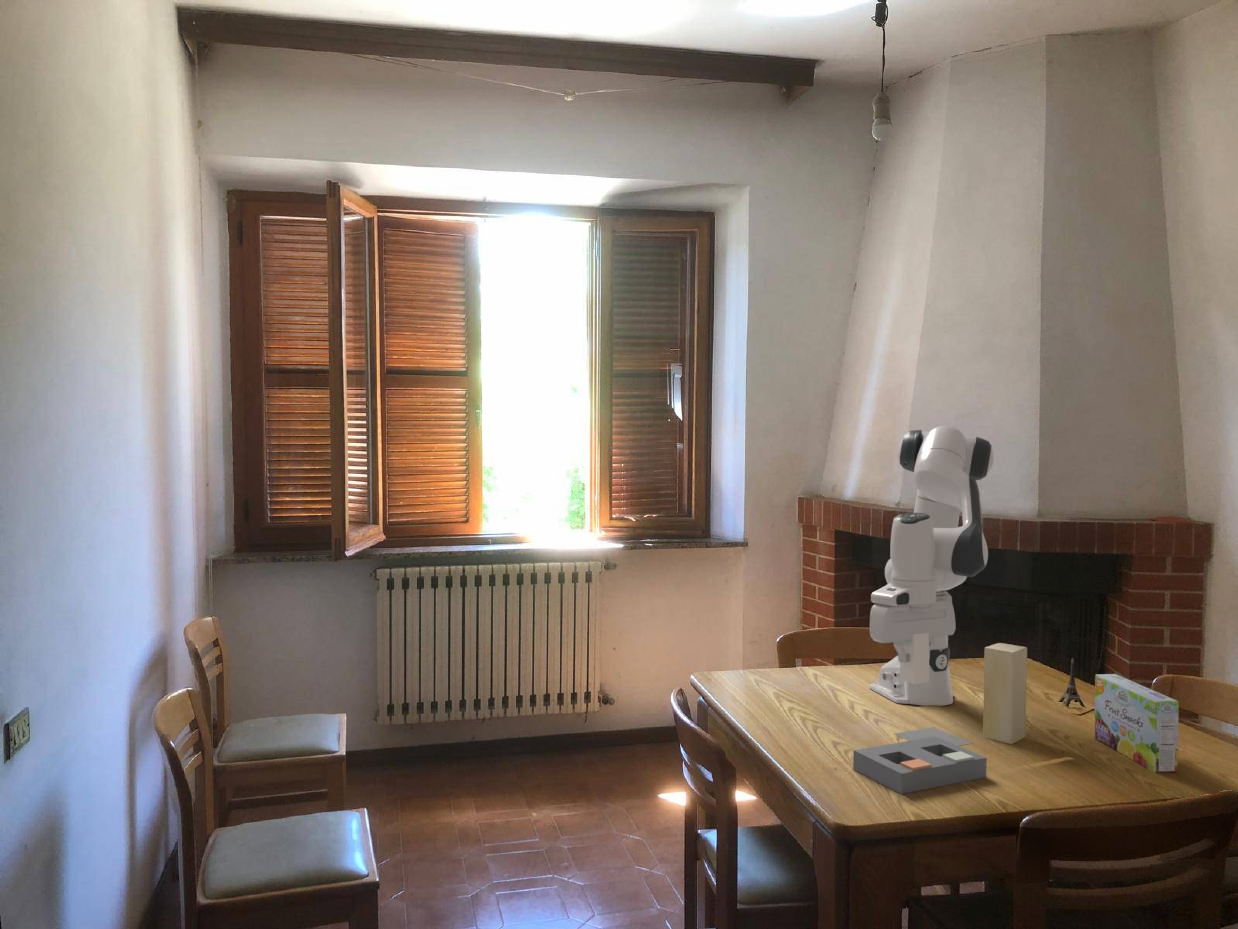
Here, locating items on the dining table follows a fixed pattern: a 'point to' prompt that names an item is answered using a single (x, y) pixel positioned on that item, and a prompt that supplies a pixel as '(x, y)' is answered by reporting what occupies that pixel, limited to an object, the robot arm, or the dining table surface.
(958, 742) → the rubber mat
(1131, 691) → the snack box
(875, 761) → the socket block
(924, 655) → the plug
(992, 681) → the tall beige block
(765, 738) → the dining table surface
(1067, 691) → the eiffel tower figurine
